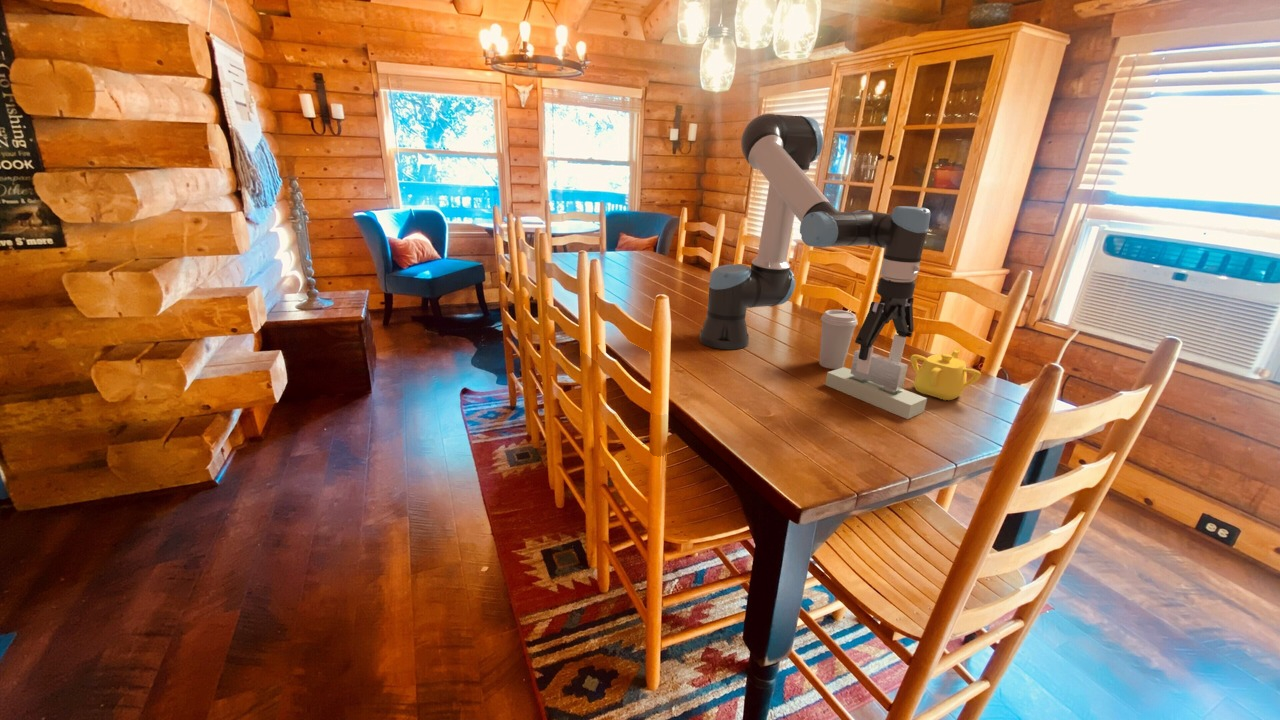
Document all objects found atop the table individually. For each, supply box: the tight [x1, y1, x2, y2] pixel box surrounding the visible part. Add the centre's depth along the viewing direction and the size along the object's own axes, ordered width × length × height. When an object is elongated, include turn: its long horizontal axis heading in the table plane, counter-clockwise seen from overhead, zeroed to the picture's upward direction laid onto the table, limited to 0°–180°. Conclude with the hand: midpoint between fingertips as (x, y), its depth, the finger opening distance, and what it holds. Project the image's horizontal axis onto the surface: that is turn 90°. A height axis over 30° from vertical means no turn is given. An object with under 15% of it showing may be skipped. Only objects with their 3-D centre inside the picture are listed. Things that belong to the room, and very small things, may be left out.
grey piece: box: [850, 349, 909, 396], centre depth 126 cm, size 12×3×10 cm, turn 35°
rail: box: [825, 366, 928, 420], centre depth 127 cm, size 22×7×4 cm, turn 35°
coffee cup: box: [819, 309, 859, 370], centre depth 145 cm, size 10×10×15 cm
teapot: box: [910, 348, 982, 401], centre depth 131 cm, size 14×13×10 cm
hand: (878, 366), depth 125 cm, fingers open, 13 cm apart
